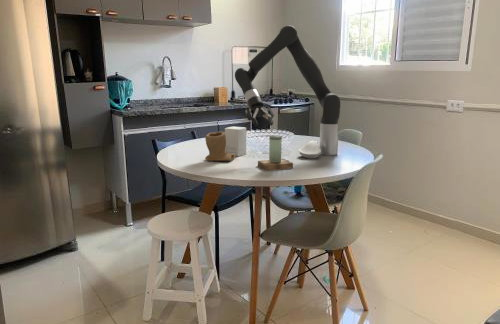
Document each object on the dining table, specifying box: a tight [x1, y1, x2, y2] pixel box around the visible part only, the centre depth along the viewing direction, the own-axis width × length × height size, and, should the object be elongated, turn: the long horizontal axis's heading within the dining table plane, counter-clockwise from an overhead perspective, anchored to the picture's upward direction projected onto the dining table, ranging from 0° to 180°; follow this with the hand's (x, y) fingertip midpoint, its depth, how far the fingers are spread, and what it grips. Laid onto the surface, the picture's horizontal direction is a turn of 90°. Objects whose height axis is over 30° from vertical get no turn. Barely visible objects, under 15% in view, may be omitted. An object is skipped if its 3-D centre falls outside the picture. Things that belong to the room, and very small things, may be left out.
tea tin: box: [268, 135, 283, 163], centre depth 181 cm, size 6×6×12 cm
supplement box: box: [224, 125, 247, 157], centre depth 208 cm, size 9×9×15 cm
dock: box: [257, 158, 294, 172], centre depth 183 cm, size 14×10×3 cm
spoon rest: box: [298, 140, 321, 159], centre depth 209 cm, size 24×12×7 cm, turn 163°
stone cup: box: [204, 131, 237, 162], centre depth 193 cm, size 15×12×15 cm
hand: (264, 125), depth 188 cm, fingers open, 8 cm apart
